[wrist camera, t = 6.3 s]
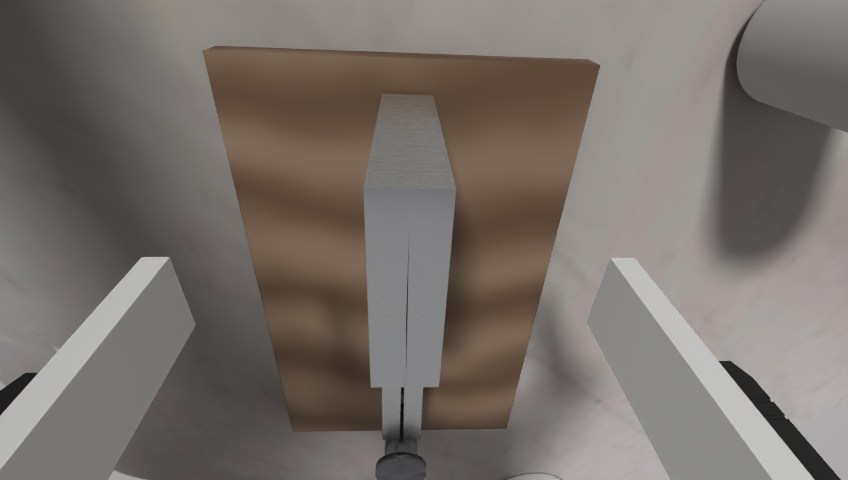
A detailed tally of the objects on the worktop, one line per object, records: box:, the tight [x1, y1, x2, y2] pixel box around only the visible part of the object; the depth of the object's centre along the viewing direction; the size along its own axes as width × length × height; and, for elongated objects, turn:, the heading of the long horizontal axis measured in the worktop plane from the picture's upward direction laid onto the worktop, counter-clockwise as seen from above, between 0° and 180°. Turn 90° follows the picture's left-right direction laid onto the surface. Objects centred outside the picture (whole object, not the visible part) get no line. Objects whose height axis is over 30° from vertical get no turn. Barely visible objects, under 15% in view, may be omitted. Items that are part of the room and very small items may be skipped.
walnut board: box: [203, 46, 600, 432], centre depth 27 cm, size 29×18×2 cm, turn 178°
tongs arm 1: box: [363, 94, 410, 440], centre depth 21 cm, size 23×1×10 cm, turn 177°
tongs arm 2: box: [403, 95, 456, 439], centre depth 21 cm, size 23×1×10 cm, turn 178°
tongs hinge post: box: [376, 403, 426, 480], centre depth 31 cm, size 4×4×5 cm
